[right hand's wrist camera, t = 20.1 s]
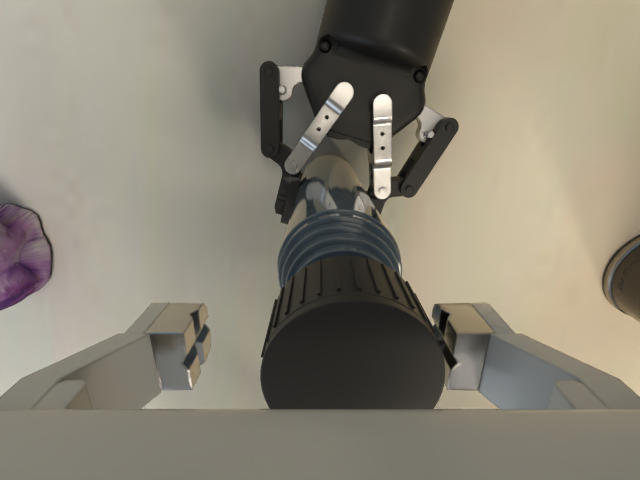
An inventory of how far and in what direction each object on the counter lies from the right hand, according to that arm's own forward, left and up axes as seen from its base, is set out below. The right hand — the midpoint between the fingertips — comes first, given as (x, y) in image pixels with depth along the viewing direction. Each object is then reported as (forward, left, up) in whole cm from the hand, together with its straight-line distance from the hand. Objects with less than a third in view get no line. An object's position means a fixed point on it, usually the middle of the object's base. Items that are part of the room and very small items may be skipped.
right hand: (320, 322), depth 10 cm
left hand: (-1, +2, -16) cm, 16 cm away
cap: (-1, 0, +2) cm, 2 cm away
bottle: (-1, 0, -23) cm, 23 cm away
